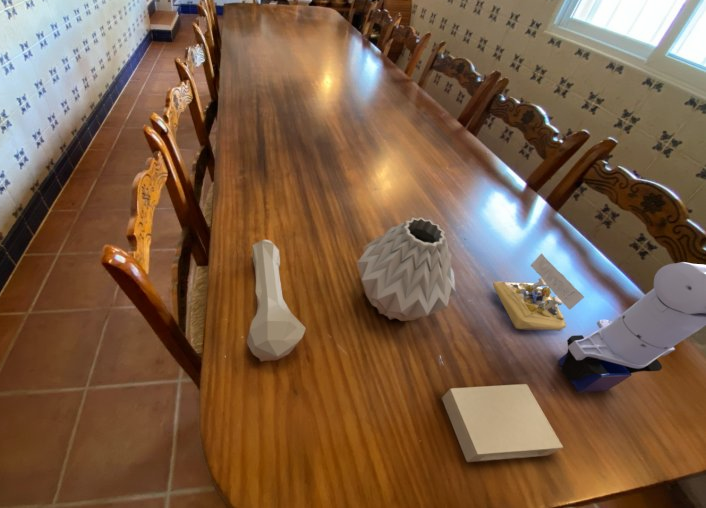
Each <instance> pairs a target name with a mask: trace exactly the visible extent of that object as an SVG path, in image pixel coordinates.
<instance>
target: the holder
mask: <svg viewBox="0 0 706 508" xmlns="http://www.w3.org/2000/svg"><path fill="white" fill-rule="evenodd" d="M566 356H567V352H566V353H565V354H564V355H563V356H561V357H559V359H558V360H557V362H558V364H559V365H560V368H561V367H562V365H563V363H564V361H565V359H566ZM600 363H601V365H602V366H603V367H604V369H605V370H606V371H607V372H608V374H592V375H589V376H586V377H584V378H582V379H579V380H576V381H570V382H571V383H572V385H573V387H574V388H575V389H576V391H577V392H578V393H589V392H591V393H593V392H606V391H610V390H611V389H612V388H614V387H615V386H617V385H618V384H620V383H622V382H623V381H625V380H627V379H628V378H630V377H631V376H632V375H633V373H630V372H629V371H628V369H627V368H626V367H625V366H624V365H620V364H616V363H613V362H609V361H605V360H601V361H600Z"/></svg>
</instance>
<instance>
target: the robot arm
mask: <svg viewBox="0 0 706 508" xmlns="http://www.w3.org/2000/svg"><path fill="white" fill-rule="evenodd" d="M596 325H597V327H598V328H599V329H598V330H595V331H594V332H593V333H591V334H589V335H588V336H586V337H584V335H582V334H577V335H571V336H570V337H568V339H567V340H566V341H567V352H566V353H567V356H566V359H565V361H564V363H563V365H562V367H561V366H560V370H561V371H562V374H564V376H565V377H566V380H567V381H569V382H571V381H576V380H579V379H582V378H584V377H586V376H589V375H592V374H608V372H607V371H606V370H605V369H604V367H603V366H602V365H601V363H600V361H601V360H605V361H609V362H613V363H616V364H620V365H624V366H625V367H626V368H627V369H628V371H629V372H630V373H631V374H634V373H639V372H660V371H661V370H662V369H663V365H662V364H661V362H660V360H659V358H660V357H665V356H667V355H668V354H669V355H670V353H672V352H674V351H676V348H675V346H677V345H678V344H680V343H681V342H683V341H684V340H686V339H687V338H689V337H690V336H692V335H694V334H696V333H697V332H698V331H700V330H702V328H704V327H706V264H697V263H690V262H685V261H681V262H677V263H668V264H666V265H663V266H662V267H660V268H659V269H658V270H657V271H656V273H655V275H654V278H653V288H651V290H650V291H648V292H647V293H645V294H644V295H643V296H642V297H641V298H639V299H638V301H636V302H635V303H634V304H633V305H631V306H630V307H629V308H627V309H626V310H625V311H624V312H622V313H621V314H620V315H619V316H618V317H616V318H615V319H614V320H612V321H611V320H610V319H599V320H598V321H597V322H596Z"/></svg>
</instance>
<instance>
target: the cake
mask: <svg viewBox="0 0 706 508" xmlns="http://www.w3.org/2000/svg"><path fill="white" fill-rule="evenodd" d="M466 240H467V239H466V238H464V241H466ZM530 267H531V268H532V269H533V270H534V271H535V273H536V274H538V275H539V276H540V277H539V278H538V281H537V282H525V281H524V282H505V281H502V280H498V281H494V282H493V283H492V286H493V288H494V290H495V292H496V294H497V296H498V298H499V300H500V302H501V303H502V305H503V307H504V309H505V311H506V313H507V316H508V317H509V319H510V322H512V325H513V326H514V328H515V329H516V330H527V331H529V330H530V331H531V330H532V331H533V330H534V331H552V332H553V331H554V332H559V331H562V330H563V329H565V328H566V327H567V323H566V322H565V317H564V315H563V313H562V312H561V310H560V308H559V306H562V304H563V305H564V306H565V307H566V308H567V309H568V310H569V311H570V310H572V309H573V308H574V307H575V306H576V305H577V304H578V303H580V302H581V301H582V300H583V299H584V298H585V295H583V294H582V293H581V291H579V290H578V289H577V288H575V286H574V285H573V284H572V283H571V282H570V281H569V280H568V279H567V278H566V276H565V275H564V274H563V273H561V272H560V271H559V270H558V269H557V268H556V267H555V266H554V265H553V264H552V263H551V261H550V260H548V258H546V256H545V255H544V254H543V253H542V252H541V253H540V254H539V256H538V257H536V258H535V260H533V262H532V263H531V264H530ZM552 293H553V294H554V295H555V296H552Z"/></svg>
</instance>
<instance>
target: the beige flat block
mask: <svg viewBox="0 0 706 508" xmlns="http://www.w3.org/2000/svg"><path fill="white" fill-rule="evenodd" d="M441 401H442V403H443V406H444V409H445V411H446V413H447V415H448V419H449V420H450V423H451V425H452V428H453V430H454V433H455V436H456V438H457V440H458V443H459V447H460V448H461V451H462V453H463V456H464V459H465V461H466V462H467V463H475V462H486V461H498V460H510V459H512V460H513V459H522V458H536V457H547V456H550V455H553V454H554V453H556V452H558V451H560V450H561V449H564V446H563V444H562V443H561V441H560V439H559V437H558V436H557V434H556V432H555V430H554V429H553V427H552V425H551V424H550V422H549V419H547V416H546V415H545V413H544V412H543V410H542V408H541V406H540V404H539V403H538V401H537V400H536V398H535V396H534V394H533V392H532V391H531V389H530V387H529V385H528V384H527V383H519V384H504V385H487V386H470V387H469V386H467V387H453V388H452V387H451V388H449V389H448V391H447V392H445V394H444V395H442V397H441Z"/></svg>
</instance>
